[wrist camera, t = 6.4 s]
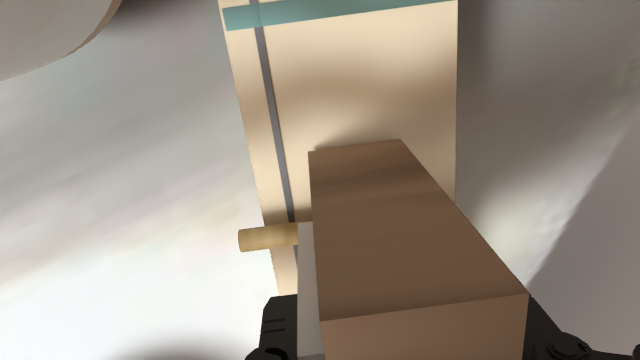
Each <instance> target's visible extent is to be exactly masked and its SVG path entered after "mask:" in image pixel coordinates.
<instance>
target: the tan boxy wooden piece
mask: <svg viewBox="0 0 640 360" xmlns="http://www.w3.org/2000/svg"><path fill="white" fill-rule="evenodd" d="M308 164H309V179H310V193H311V207H312V220H308V221H300V222H293V223H286V224H278V225H271V226H264V227H256V228H249V229H242V230H239V232H238V242H239V248H240V251H241V252H248V251H255V250H262V249H270V248H277V247H285V246H292V245H298V223H304V222H313V236H314V250H315V265H316V279H317V293H318V308H319V322H320V328H321V334H322V340H323V346H324V353H325V359H326V360H522V354H523V345H524V336H525V327H526V318H527V309H528V300H529V292H528V291H527V290H526V289H525V288H524V286H523V285H522V284H521V283H520V282H519V280H518V279H517V278H516V277H515V276H514V274H513V273H512V272H511V271H510V270H509V268H508V267H507V266H506V265H505V264H504V262H503V261H502V260H501V259H500V258H499V256H498V255H497V254H496V253H495V252H494V250H493V249H492V248H491V247H490V246H489V244H488V243H487V242H486V241H485V240H484V238H483V237H482V236H481V235H480V234H479V232H478V231H477V230H476V229H475V228H474V226H473V225H472V224H471V223H470V222H469V220H468V219H467V218H466V217H465V216H464V214H463V213H462V212H461V211H460V210H459V208H458V207H457V206H456V205H455V204H454V202H453V201H452V200H451V199H450V198H449V196H448V195H447V194H446V193H445V192H444V190H443V189H442V188H441V187H440V186H439V184H438V183H437V182H436V181H435V180H434V178H433V177H432V176H431V175H430V174H429V172H428V171H427V170H426V169H425V168H424V166H423V165H422V164H421V163H420V162H419V160H418V159H417V158H416V157H415V156H414V154H413V153H412V152H411V151H410V150H409V148H408V147H407V146H406V145H405V144H404V142H403V141H402V140H401V139H396V140H388V141H381V142H374V143H366V144H359V145H352V146H344V147H337V148H330V149H322V150H315V151H308Z"/></svg>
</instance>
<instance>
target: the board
mask: <svg viewBox="0 0 640 360" xmlns="http://www.w3.org/2000/svg"><path fill="white" fill-rule="evenodd" d="M218 5H219V9H220V14H221V19H222V24H223V28H224V33H225V38H226V43H227V48H228V52H229V57H230V62H231V67H232V72H233V76H234V81H235V86H236V91H237V95H238V100H239V105H240V110H241V115H242V119H243V124H244V129H245V134H246V139H247V143H248V148H249V153H250V158H251V162H252V167H253V172H254V177H255V182H256V186H257V191H258V196H259V201H260V206H261V210H262V215H263V220H264V225H265V226H271V225H278V224H286V223H293V222H300V221H308V220H312V207H311V193H310V179H309V164H308V151H315V150H322V149H330V148H337V147H344V146H352V145H359V144H366V143H374V142H381V141H388V140H396V139H401V140H402V141H403V142H404V144H405V145H406V146H407V147H408V148H409V150H410V151H411V152H412V153H413V154H414V156H415V157H416V158H417V159H418V160H419V162H420V163H421V164H422V165H423V166H424V168H425V169H426V170H427V171H428V172H429V174H430V175H431V176H432V177H433V178H434V180H435V181H436V182H437V183H438V184H439V186H440V187H441V188H442V189H443V190H444V192H445V193H446V194H447V195H448V196H449V198H450V199H451V200H452V201H453V202H454V204H455V164H456V93H457V23H458V0H218ZM270 253H271V258H272V263H273V268H274V273H275V277H276V282H277V287H278V292H279V296H284V295H291V294H297V287H298V245H292V246H285V247H277V248H270Z"/></svg>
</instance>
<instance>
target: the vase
mask: <svg viewBox="0 0 640 360" xmlns="http://www.w3.org/2000/svg"><path fill="white" fill-rule="evenodd" d="M121 2H122V0H0V81H2V80H5V79H8V78H11V77H14V76H18V75H21V74H24V73H26V72H29V71H32V70H34V69H37V68H40V67H42V66H45V65H47V64H49V63H52V62H54V61H56V60H59V59H61V58H63V57H65V56H67V55H69V54H71V53H73V52H75V51H76V50H78V49H79V48H81V47H82V46H84V45H85V44H86V43H88V42H89V41H91V40H92V39H93V38H94V37H95V36H96V35H97V34H98V33H99V32H100V31H101V30H102V29H103V28H104V27H105V26H106V25H107V24H108V23H109V22H110V20H111V19H112V17H113V16H114V14H115V13H116V11H117V10H118V8H119V7H120V4H121Z"/></svg>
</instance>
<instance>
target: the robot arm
mask: <svg viewBox="0 0 640 360" xmlns="http://www.w3.org/2000/svg"><path fill="white" fill-rule="evenodd" d="M514 276H515V275H514ZM515 277H516V276H515ZM516 278H517V277H516ZM519 282H520V281H519ZM520 283H521V282H520ZM521 284H522V283H521ZM525 289H526V288H525ZM526 290H527V289H526ZM245 360H326V359H325V353H324V346H323V340H322V334H321V328H320V322H319V308H318V293H317V279H316V265H315V250H314V236H313V222H304V223H298V287H297V294H291V295H284V296H276V297H271V298H270V299H269V301H268V303H267V304H266V306H265V307H264V309H263V317H262V325H261V334H260V342H259V348H256V349H254V350H253V351H252V352H251V353H250V354H249V355H247V356H246V358H245ZM522 360H640V344H638V345H636V347H635V349H634V350H633V353H632V356H628V355H621V354H613V353H605V352H600V351H595V350H592V349H591V348H590V347H589V345H587V343H585V342H584V341H582V340H581V339H579V338H578V337H576V336H573V335H570V334H568V333H566V332H562V331H561V330H560V329H559V328H558V327H557V325H556V324H555V323H554V322H553V321H552V320H551V318H550V317H549V316H548V315H547V313H546V312H545V311H544V310H543V309H542V308H541V306H540V305H539V304H538V303H537V301H536V300H535V299H534V298H533V297H531V294H530V293H529V300H528V309H527V318H526V327H525V336H524V345H523V354H522Z"/></svg>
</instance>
